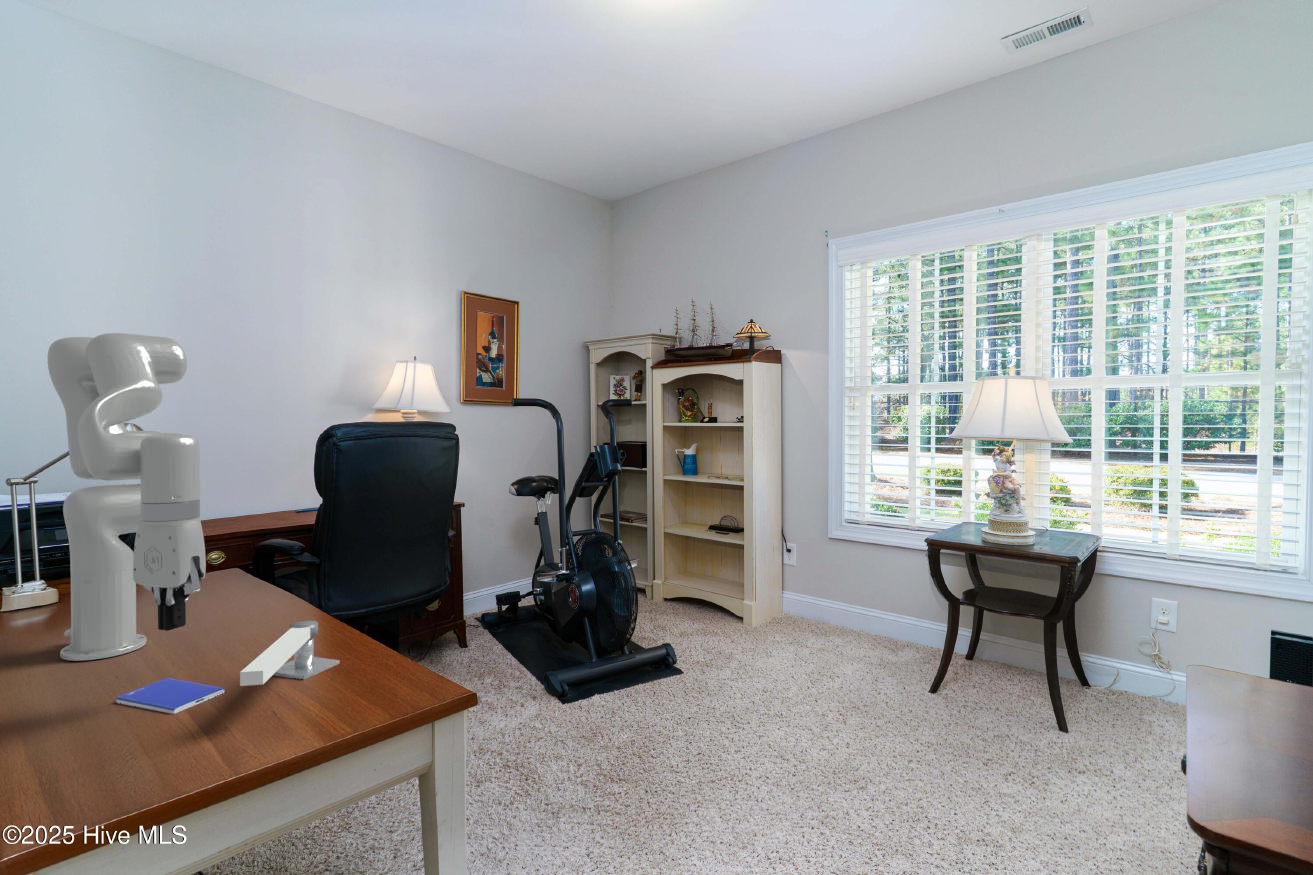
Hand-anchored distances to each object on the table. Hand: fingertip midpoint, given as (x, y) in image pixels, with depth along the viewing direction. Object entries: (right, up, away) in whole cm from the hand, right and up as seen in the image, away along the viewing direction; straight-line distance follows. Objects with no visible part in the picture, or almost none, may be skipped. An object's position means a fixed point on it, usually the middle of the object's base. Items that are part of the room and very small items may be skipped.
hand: (172, 627), depth 103 cm
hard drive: (0, -12, 0) cm, 12 cm away
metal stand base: (+14, -11, +13) cm, 22 cm away
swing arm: (+16, -5, +3) cm, 17 cm away
